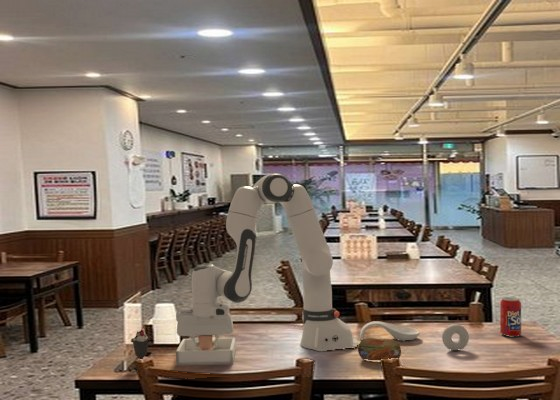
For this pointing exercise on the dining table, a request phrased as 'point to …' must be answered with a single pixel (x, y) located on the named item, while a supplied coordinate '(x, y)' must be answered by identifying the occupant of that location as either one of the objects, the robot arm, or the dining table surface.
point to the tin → (379, 349)
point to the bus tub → (206, 353)
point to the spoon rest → (393, 330)
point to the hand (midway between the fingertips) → (205, 346)
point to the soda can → (510, 316)
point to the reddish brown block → (205, 342)
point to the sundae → (140, 344)
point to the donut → (452, 330)
